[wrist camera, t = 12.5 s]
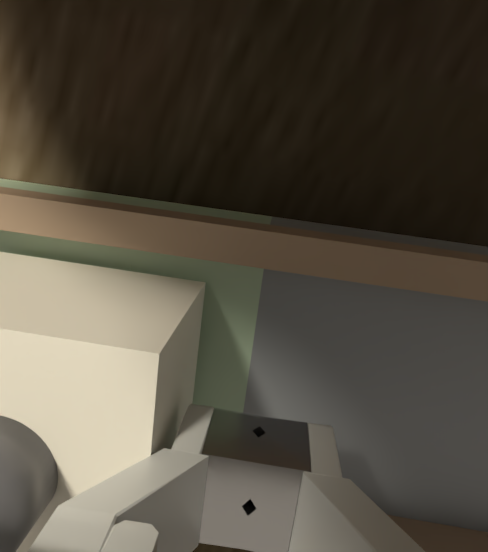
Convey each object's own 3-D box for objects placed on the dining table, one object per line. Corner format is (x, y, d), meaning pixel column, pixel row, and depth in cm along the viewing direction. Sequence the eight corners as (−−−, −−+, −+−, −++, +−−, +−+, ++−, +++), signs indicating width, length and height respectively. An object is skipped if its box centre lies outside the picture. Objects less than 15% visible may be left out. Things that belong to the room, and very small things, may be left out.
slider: (-1, 251, 11) (-246, 331, 6) (205, 282, 11) (133, 394, 6) (1, 433, 12) (-197, 626, 7) (185, 464, 12) (111, 688, 7)
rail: (-22, 175, 12) (-97, 179, 10) (929, 308, 11) (1109, 351, 9) (-15, 432, 14) (-76, 487, 12) (784, 570, 13) (896, 663, 11)
